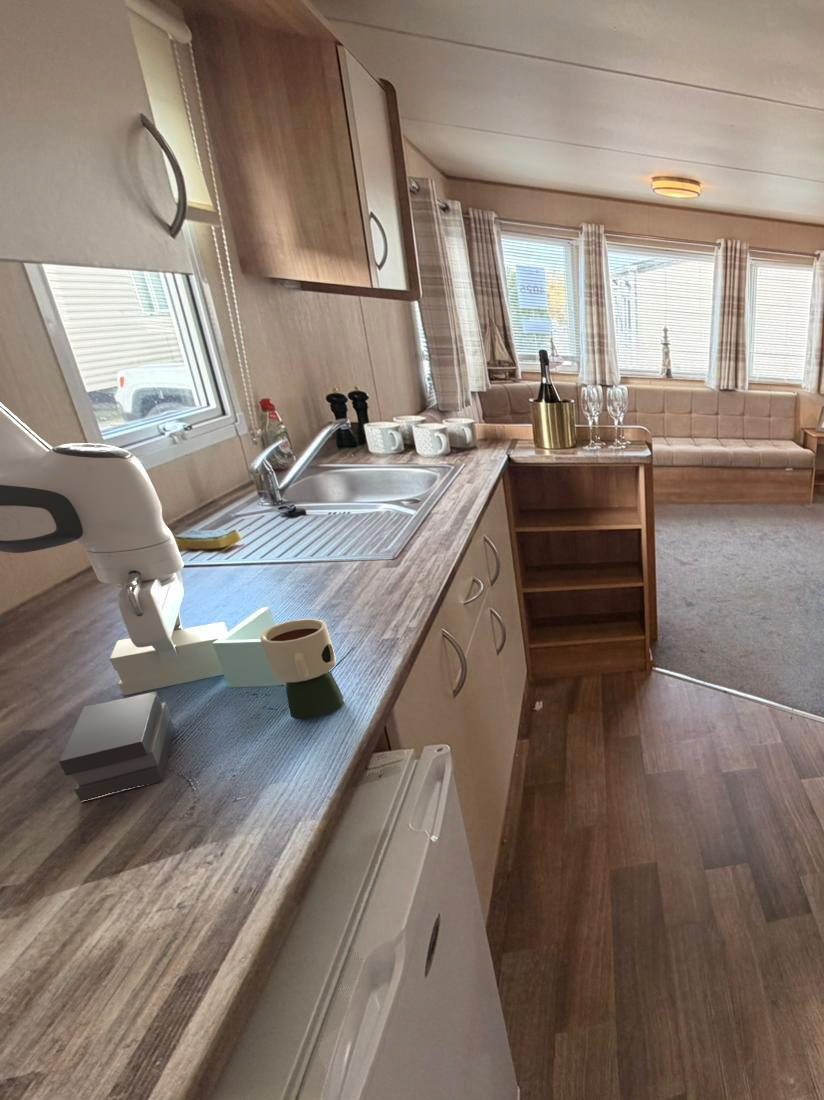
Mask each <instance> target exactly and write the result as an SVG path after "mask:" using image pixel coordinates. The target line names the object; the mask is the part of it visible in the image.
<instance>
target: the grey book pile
mask: <svg viewBox="0 0 824 1100" xmlns="http://www.w3.org/2000/svg"><path fill="white" fill-rule="evenodd" d="M175 728H176V727H175V724H174V723H173V720H172V718H171V713H170V710H169V708H168V706H167V703H166V702H165V701H164V702H161V700H160V697H159V694H158V693H157V691H152V692H151V691H150V692H148V693H147V692H146V693H142V694H137V695H133V696H132V695H131V696H128V697H123V698H119V699H114V700H110V701H109V700H108V701H104V702H99V703H95V704H91V705H85V706H83V707H82V709H81V712H80V714H79V715H78V718H77V720H76V723H75V725H74V727H73V729H72V731H71V734H70V736H69V738H68V741H67V742H66V744H65V747H64V749H63V751H62V753H61V756H60V758H59V760H58V763H59V765H60V767H61V769H62V770H63V773H64V775H65V776H73V778H74V779H75V781H76V784H75V787H74V792H75V794H76V796H77V798H78V799H79V801H80V802H81V801H83V800H88V799H91V798H95V797H98V796H102V795H105V794H108V793H112V792H117V791H121V790H123V789H128V788H133V787H137V786H142V785H147V784H151V785H153V784H152V783H154V784H156V783H155V782H158V783H161V782H163V781H164V777H165V773H166V770H167V769H166V768H167V764H168V759H169V755H170V750H171V745H172V741H173V738H174V737H173V736H174V732H175ZM147 786H148V785H147Z"/></svg>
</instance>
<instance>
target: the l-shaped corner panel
mask: <svg viewBox="0 0 824 1100" xmlns="http://www.w3.org/2000/svg"><path fill="white" fill-rule="evenodd" d="M275 625H276V623H275V620H274V617H273V614H272V610H271V608H270V606H269V607H267V606H266V607H261V608H259V609H258V610H257V611H255V612H254V613H251V615H250V616H248V617H246V618H245V619H244V620H242V621H241V622H239V624H237V625H236V626H234V627H233V628H231V629H230V630H229V631H228V632H227V633H226V634H225V635H223V636H222V637H220V638H219V639H218V640H216V641H215V642H213V643H212V644H213V646H214V649H215V652H216V654H217V657H218V660H219V662H220V665H221V667H222V670H223V673H224V674H223V675H224V678H225V680H226V683H227V687H228V688H229V689H230V688H231V689H232V688H254V687H257V688H258V687H280V686H281V685H283V686H286V682H281V681H277V680H276V679H275V678H274V676H273V674H272V672H271V669H270V666H269V663H268V660H267V657H266V654H265V651H264V648H263V645H262V642H261V639H260V636H261V634H262V633H263V632H264V631H265V630H267V629H269V628H270V627H273V626H275ZM278 685H279V686H278ZM281 687H282V686H281Z"/></svg>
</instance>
